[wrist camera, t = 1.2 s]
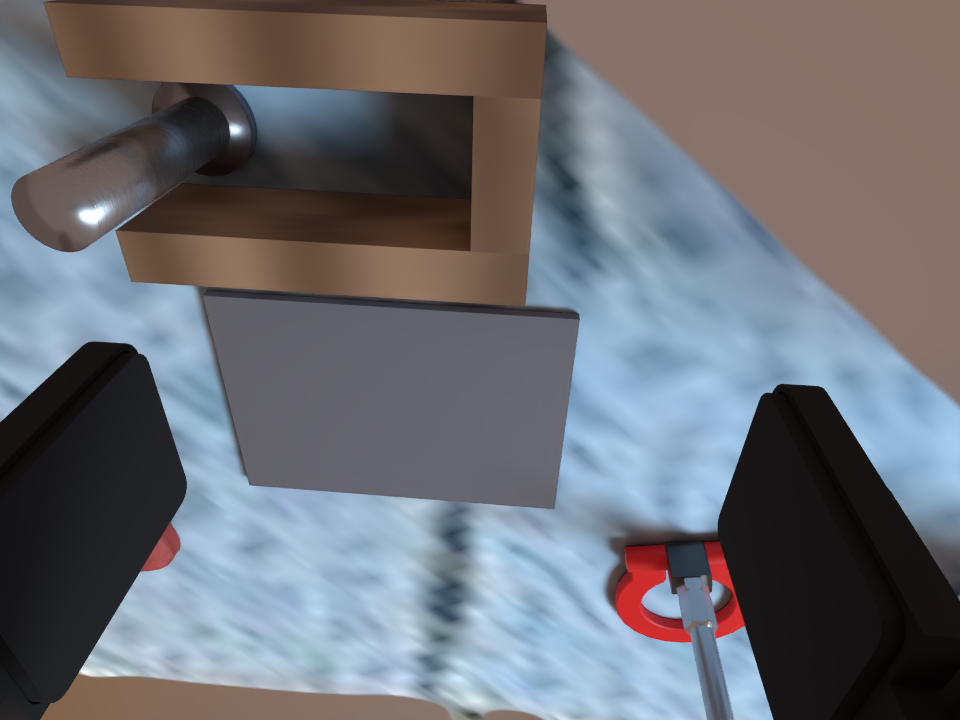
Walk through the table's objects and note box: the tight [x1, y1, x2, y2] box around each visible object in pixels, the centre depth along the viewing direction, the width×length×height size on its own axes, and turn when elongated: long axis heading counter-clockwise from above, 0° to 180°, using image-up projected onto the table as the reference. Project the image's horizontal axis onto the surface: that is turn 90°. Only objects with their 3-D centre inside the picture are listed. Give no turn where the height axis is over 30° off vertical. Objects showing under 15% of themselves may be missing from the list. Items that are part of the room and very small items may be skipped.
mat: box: [203, 291, 580, 509], centre depth 32 cm, size 17×12×1 cm
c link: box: [44, 0, 547, 306], centre depth 23 cm, size 14×9×5 cm, turn 88°
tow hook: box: [615, 541, 745, 720], centre depth 33 cm, size 8×13×9 cm
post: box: [11, 82, 257, 252], centre depth 21 cm, size 4×4×10 cm
